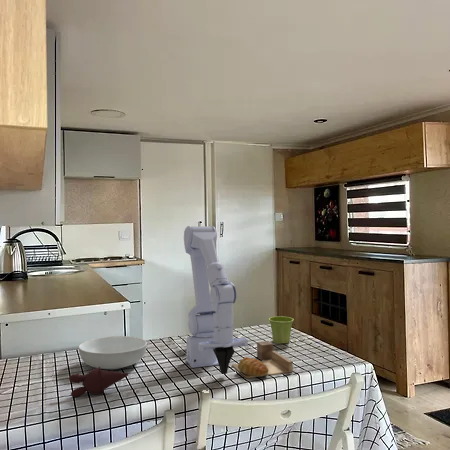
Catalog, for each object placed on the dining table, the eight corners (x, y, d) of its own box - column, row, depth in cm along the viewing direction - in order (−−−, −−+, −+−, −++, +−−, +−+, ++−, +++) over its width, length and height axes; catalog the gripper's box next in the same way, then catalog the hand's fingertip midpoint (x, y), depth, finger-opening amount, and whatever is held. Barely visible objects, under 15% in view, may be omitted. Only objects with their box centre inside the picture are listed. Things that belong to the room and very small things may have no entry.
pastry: (274, 374, 127) (273, 361, 127) (258, 380, 123) (258, 366, 123) (250, 366, 134) (250, 354, 134) (235, 372, 129) (235, 359, 129)
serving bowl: (142, 375, 128) (142, 352, 128) (70, 377, 127) (70, 353, 127) (150, 354, 149) (150, 334, 149) (88, 356, 148) (88, 335, 148)
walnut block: (261, 360, 142) (261, 345, 142) (257, 357, 145) (257, 342, 145) (273, 359, 143) (273, 344, 143) (268, 355, 147) (267, 340, 147)
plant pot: (297, 340, 165) (297, 317, 165) (287, 346, 157) (287, 322, 157) (275, 337, 170) (275, 315, 170) (264, 343, 162) (264, 319, 162)
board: (246, 378, 125) (246, 367, 125) (231, 365, 137) (231, 355, 137) (292, 371, 130) (292, 361, 130) (275, 360, 141) (275, 350, 141)
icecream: (124, 360, 122) (68, 372, 116) (128, 361, 115) (68, 373, 110) (128, 386, 120) (70, 399, 115) (131, 388, 114) (71, 402, 108)
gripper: (203, 331, 120) (203, 380, 120) (251, 326, 124) (252, 374, 124) (196, 325, 126) (196, 372, 126) (242, 321, 131) (243, 366, 131)
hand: (223, 372), depth 126 cm, fingers closed
